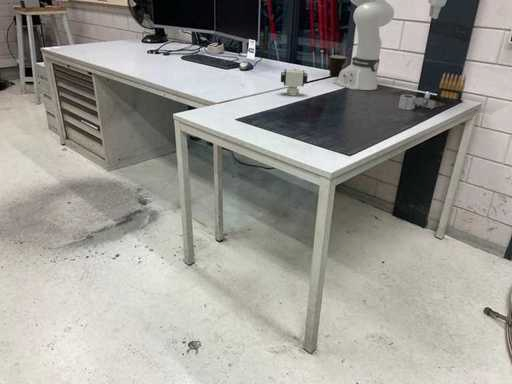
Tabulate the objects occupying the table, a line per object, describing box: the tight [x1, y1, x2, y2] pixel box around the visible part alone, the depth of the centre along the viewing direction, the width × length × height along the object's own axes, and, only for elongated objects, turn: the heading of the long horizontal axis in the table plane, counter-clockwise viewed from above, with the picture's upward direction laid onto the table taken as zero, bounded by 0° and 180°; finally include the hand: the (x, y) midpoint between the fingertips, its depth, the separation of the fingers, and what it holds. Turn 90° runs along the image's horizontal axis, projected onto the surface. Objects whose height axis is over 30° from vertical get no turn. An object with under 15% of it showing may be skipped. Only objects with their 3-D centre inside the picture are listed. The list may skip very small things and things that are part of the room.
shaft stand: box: [415, 91, 446, 110], centre depth 184 cm, size 12×12×5 cm
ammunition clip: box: [435, 72, 467, 101], centre depth 190 cm, size 11×2×12 cm, turn 55°
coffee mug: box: [329, 54, 347, 78], centre depth 226 cm, size 12×9×10 cm
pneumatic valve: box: [280, 67, 308, 97], centre depth 187 cm, size 6×12×12 cm, turn 89°
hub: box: [398, 94, 417, 111], centre depth 177 cm, size 6×6×5 cm
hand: (432, 17), depth 167 cm, fingers open, 8 cm apart
